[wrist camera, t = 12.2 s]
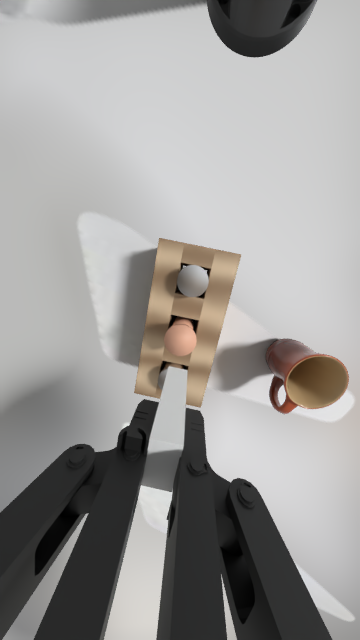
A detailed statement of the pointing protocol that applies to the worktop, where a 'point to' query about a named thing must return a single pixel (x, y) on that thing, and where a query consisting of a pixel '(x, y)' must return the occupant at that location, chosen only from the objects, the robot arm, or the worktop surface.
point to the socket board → (185, 315)
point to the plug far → (163, 373)
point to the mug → (304, 376)
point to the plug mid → (180, 337)
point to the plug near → (192, 281)
